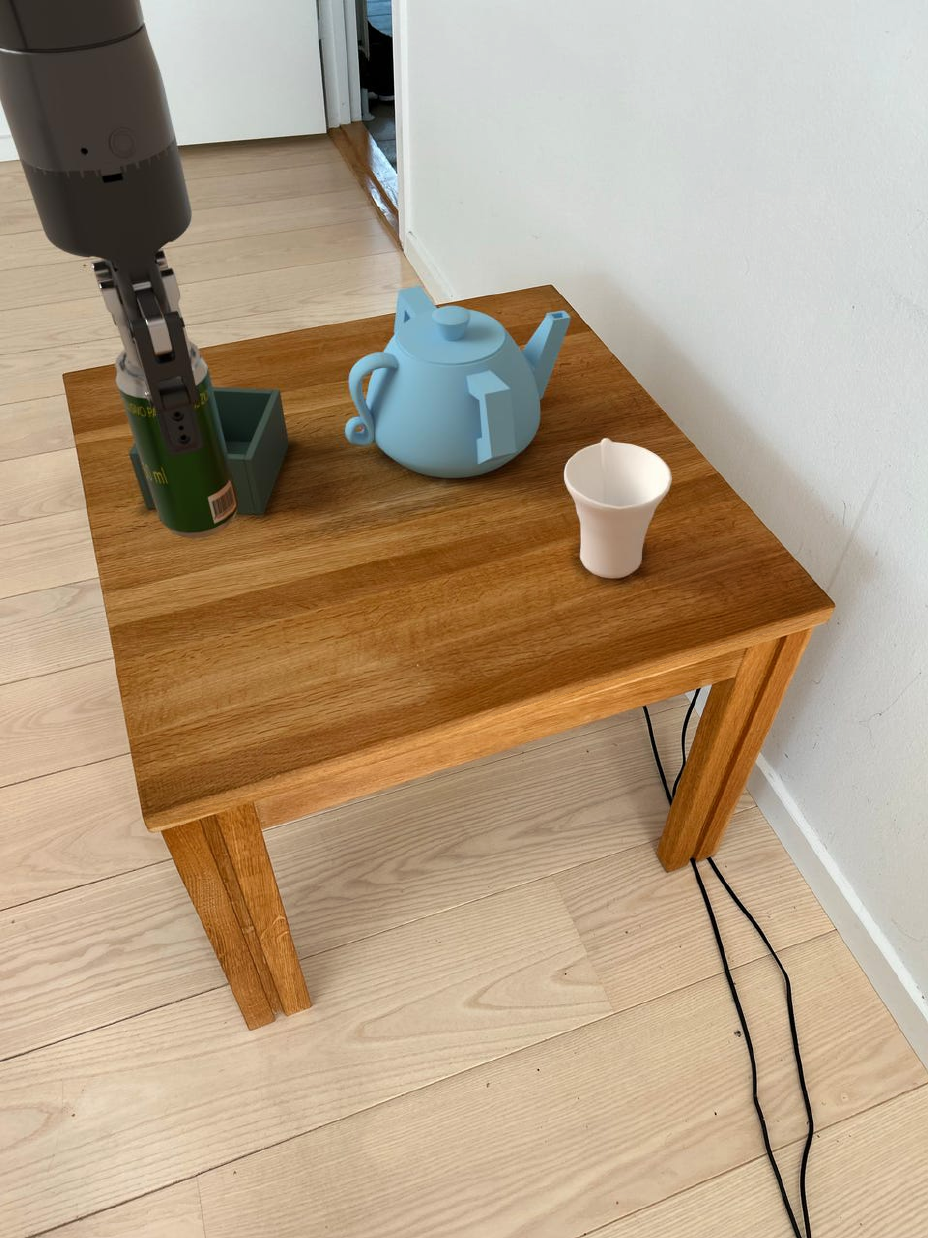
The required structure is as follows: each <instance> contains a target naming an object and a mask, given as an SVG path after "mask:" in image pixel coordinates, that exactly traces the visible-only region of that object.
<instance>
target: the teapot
mask: <svg viewBox="0 0 928 1238" xmlns="http://www.w3.org/2000/svg"><path fill="white" fill-rule="evenodd" d="M395 309H396V310H395V317H394V318H395V319H394V328H393V333H394V334H393V336H392V337H391V339H390V340H389V342H388V343H387V344H386V346H385V348H384V350H383V351H381V352H380V351H379V352H373V353H370V354H367V355H365V356H364V357H361V358H360V359H359V360H357V361H356V363H354V365H353V366H352V368H351V370H350V372H349V375H348V388H349V393H350V396H351V399H352V401H353V404H354V406H355V407H356V410H357V413H358V414H359V416H353V417H351V418H350V419H349V420H348V421H347V422H346V425H345V427H344V428H345V429H344V434H345V437H346V439H347V441H348V442H349V443H350V444H352V445H355V446H358V447H367V446H370V445H371V444H373V443H375V444H376V445H377V448H379V449H380V450H381V451H382V452H383V453H385V454H386V455H387V456H388V457H390V459H392V460H394V461H395V462H396V463H398V464H399V465H401V466H402V467H404V468H406V469H408V470H410V471H412V472H415V473H418V474H421V475H424V476H427V477H433V478H441V479H460V478H461V479H463V478H469V477H470V478H471V477H476V476H478V475H479V476H480V475H483V474H487V473H490V472H492V471H494V470H496V469H499V468H501V467H503V466H504V465H506V464H507V463H508V462H510V461H512V460H513V459H514V458H515V457H517V456H519V454H520V453H522V452H523V451H524V450H525V449H526V448H527V447H528V446H529V445H530V444H531V443H532V441H533V440H534V438H535V436H536V434H537V432H538V430H539V427H540V423H541V400H542V399H543V397H544V395H545V392H546V389H547V386H548V384H549V381H550V378H551V375H552V373H553V370H554V367H555V364H556V362H557V359H558V356H559V353H560V351H561V348H562V345H563V342H564V340H565V337H566V335H567V331H568V328H569V326H570V323H571V319H572V318H571V315H570V314H568V313H567V312H566V310H558V311H552V312H551V311H550V312H546V313H545V317H544V319H543V320H542V322H540V324H539V326H538V327H537V329H536V330H535V332H534V333H533V334H532V336H531V338H529V340H528V341H527V343H526V344H525V346H524V347H523V349H522V350H521V349H520V347H519V346H518V344H517V343H516V341H515V340H514V338H513V336H512V335H511V334H510V333H509V332H508V330H507V329H506V328H505V327H504V325H503V324H502V323H501V322H500V321H498V320H496V319H495V318H494V317H492V316H491V315H489V314H486V313H483V312H481V311H477V310H473V309H467V308H465V307H463V306H459V305H445V306H441V307H438V308H437V306H436V305H435V303H434V302H433V301H432V299H431V298H430V297H429V296H428V294H427V293H426V291H425V290H424V289H423V287H422V286H421V284H418V285H413V286H411V287H406V288H403V289H402V288H401V289H399V290H398V291H397V299H396V308H395ZM370 373H372V374H371V376H370V379H369V383H368V388H367V393H366V397H365V396H364V393H363V380H364V379H365V378H366V377H367V376H368V375H369V374H370ZM358 427H363V429H362V430H360V431H356V429H357V428H358Z"/></svg>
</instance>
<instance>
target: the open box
mask: <svg viewBox="0 0 928 1238" xmlns="http://www.w3.org/2000/svg"><path fill="white" fill-rule="evenodd" d="M212 388H213V392H214V396H215V401H216V405H217V409H218V413H219V418H220V422H221V426H222V431H223V435H224V439H225V444H226V448H227V452H228V457H229V461H230V465H231V469H232V474H233V478H234V482H235V487H236V491H237V495H238V509H237V512H236V515H237V514H239V515H257V516H264V513H265V511H266V508H267V505H268V503H269V499H270V497H271V494H272V492H273V490H274V486H275V484H276V481H277V478H278V476H279V472H280V470H281V468H282V465H283V463H284V459H285V456H286V454H287V451H288V448H289V446H290V441H289V435H288V429H287V424H286V417H285V412H284V406H283V400H282V394H281V390H280V389H268V388H265V389H264V388H245V387H223V386H212ZM128 455H129V459H130V462H131V465H132V468H133V471H134V474H135V477H136V480H137V483H138V487H139V489H140V492H141V493H140V494H141V495H142V499H143V502H144V504H145V508H146V509H148V510H156V507H155V503H154V500H153V497H152V494H151V491H150V488H149V485H148V481H147V478H146V475H145V472H144V469H143V466H142V462H141V459H140V456H139V453H138V450H137V447H136V444H135V442H134V443H133V444H132V446H131V448H130V451H129V452H128Z"/></svg>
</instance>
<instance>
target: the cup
mask: <svg viewBox="0 0 928 1238" xmlns="http://www.w3.org/2000/svg"><path fill="white" fill-rule="evenodd" d="M563 478H564V479H563V480H564V483H565V487H566V489H567V491H568V492H569V494H570V496H571V497H572V499H573V501H574V503H575V510H576V514H577V516H578V519H579V523H580V524H579V525H580V526H579V527H580V549H579V559H580V561H581V563H582V565H583V567H584V568H585V569H587V570H588V571H589V572H590V573H591V574H593V575H595V576H598V577H601V578H603V579H604V578H605V579H611V580H612V579H621V578H626V577H627V576H630V575H631V574H633V573H634V572H635V571H636V570H638V569H639V567H640V566H641V564H642V562H643V561H642V559H643V547H644V542H645V538H646V534H647V533H648V528H649V525H650V523H651V521H652V519H653V518H654V514H655V511H656V509H657V508H658V506H659V504H660V503H661V502H662V500H664V498H665V497H666V496H667V494H668V492H669V491H670V489H671V485H672V481H673V477H672V471H671V469H670V467H669V465H668V464H667V463H666V461H665V460H663V458H662V457H660V456H659V455H657V454H656V453H654V452H652V451H650V450H649V449H647V448H645V447H642V446H638V445H635V444H632V443H625V442H617V441H616V442H615V441H612V440H611V439H610V438H608V437H606V438H603V439H602V440H601V441H600V442H598V443H595V444H592V445H589V446H586V447H584V448H582V449H580V450H578V451H577V452H576V453H574V454H573V455H572V456H571V457H570V458H569V459H568V461H567V462H566V463H565V467H564V471H563Z"/></svg>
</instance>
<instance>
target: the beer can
mask: <svg viewBox="0 0 928 1238" xmlns="http://www.w3.org/2000/svg"><path fill="white" fill-rule="evenodd" d="M189 343H190V352H189V357H190V361H191V366H192V370H193V375H194V379H195V384H196V388H197V387H198V390H199V393H200V396H199V403H198V404H194V407H195V410H196V414H197V418H198V422H199V426H200V430H201V434H202V438H203V442H204V445H203V447H202V448H201V449H200V450H198V451H194V452H190V453H186V454H182V455H178V456H171V455H170V454H168V452H167V450H166V447H165V445H164V441H163V438H162V434H161V431H160V427H159V424H158V421H157V417H156V414H155V410H154V407H153V408H151V406H150V403H149V401H148V400H147V397H146V394H145V392H147V389H146V386H145V383H144V379H143V376H142V373H141V370H140V368H139V367H138V366H134V365H132V364H131V363H130V362H129V360H128V358H127V356H126V353H125V350H124V349H123V350H122V351H121V352H120V353H119V354H118V355H117V356H116V359H115V362H114V367H115V370H116V372H117V373H116V377H115V384H116V387H117V390H118V394H119V396H120V399H121V403H122V405H123V409H124V412H125V415H126V418H127V421H128V425H129V428H130V431H131V434H132V438H133V440H134V443H135V444H136V447H137V450H138V453H139V456H140V459H141V462H142V466H143V469H144V472H145V475H146V478H147V481H148V485H149V488H150V491H151V494H152V497H153V500H154V503H155V507H156V509H155V510H156V512H157V516H158V518H159V521H160V523H161V524H163V525H164V526H165V527H166V529H168V530H169V531H170V532H171V533H172V534H174V535H176V536H179V537H181V538H186V539H203V538H208V537H211V536H214V535H216V534H218V533H220V532H222V531H224V530H225V529H227V528H228V527H229V526H230V525H231V524H232V523H233V521H234V519H235V517H236V515H237V513H236V512H237V509H238V495H237V491H236V487H235V482H234V478H233V474H232V469H231V465H230V461H229V457H228V452H227V448H226V444H225V439H224V435H223V431H222V426H221V422H220V418H219V413H218V409H217V405H216V401H215V396H214V392H213V388H212V387H213V384H212V379H211V374H210V370H209V367H208V365H207V362H206V360H205V359H204V358H203V356H202V354H201V351H200V349H199V347H198V345H196V344H195V343H194V342H193V341H191V340H189ZM134 345H135V346H136V344H134ZM175 378H178V377H175ZM170 379H174V378H170ZM170 379H166V380H170ZM162 381H165V380H162ZM160 382H161V381H160Z"/></svg>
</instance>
